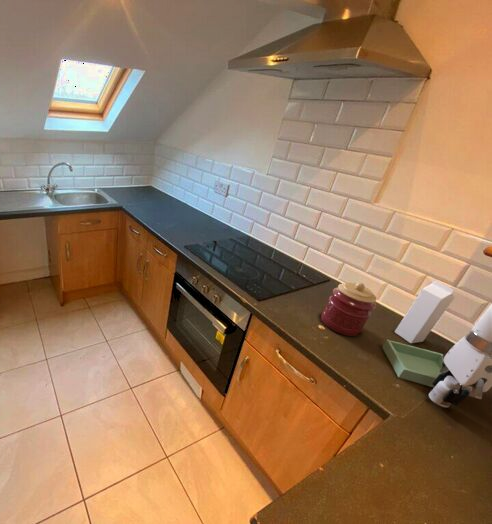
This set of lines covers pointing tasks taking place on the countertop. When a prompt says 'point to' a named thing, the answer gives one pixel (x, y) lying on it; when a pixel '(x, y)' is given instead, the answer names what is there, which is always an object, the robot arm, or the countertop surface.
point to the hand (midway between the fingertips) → (444, 393)
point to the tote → (414, 362)
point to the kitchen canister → (349, 308)
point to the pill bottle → (443, 390)
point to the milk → (425, 312)
